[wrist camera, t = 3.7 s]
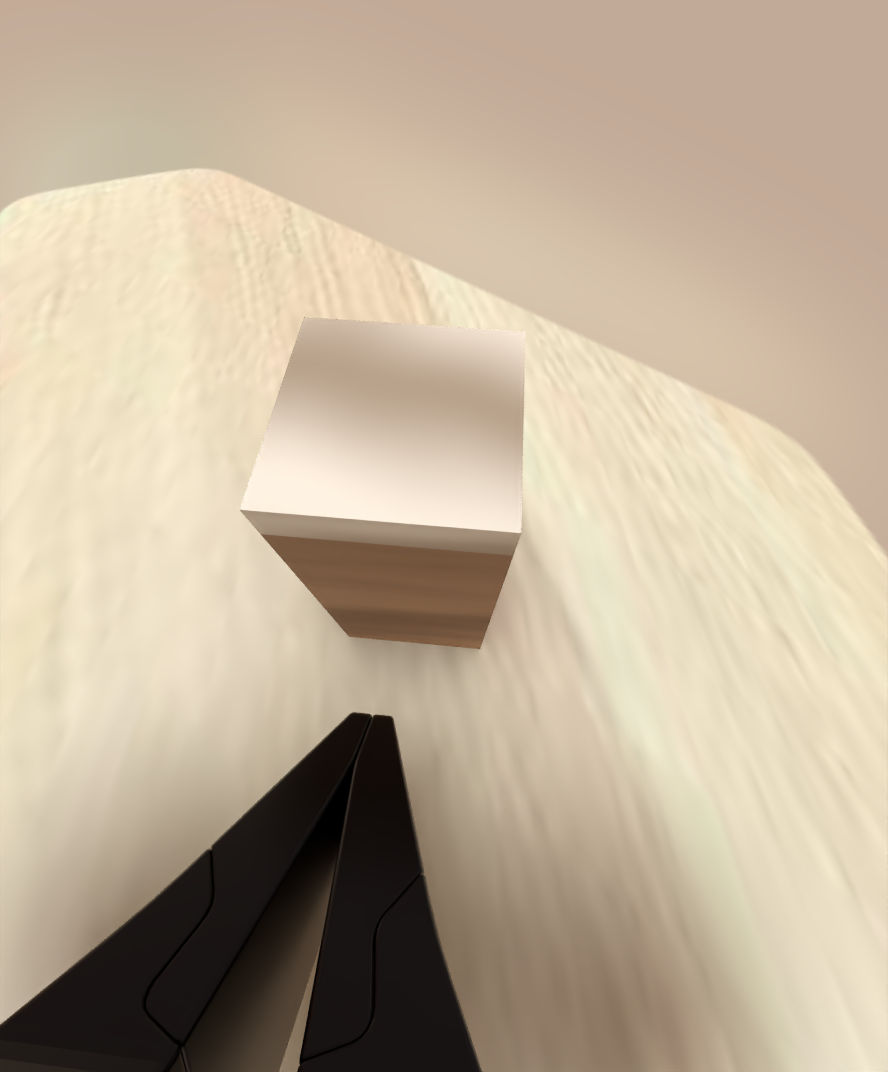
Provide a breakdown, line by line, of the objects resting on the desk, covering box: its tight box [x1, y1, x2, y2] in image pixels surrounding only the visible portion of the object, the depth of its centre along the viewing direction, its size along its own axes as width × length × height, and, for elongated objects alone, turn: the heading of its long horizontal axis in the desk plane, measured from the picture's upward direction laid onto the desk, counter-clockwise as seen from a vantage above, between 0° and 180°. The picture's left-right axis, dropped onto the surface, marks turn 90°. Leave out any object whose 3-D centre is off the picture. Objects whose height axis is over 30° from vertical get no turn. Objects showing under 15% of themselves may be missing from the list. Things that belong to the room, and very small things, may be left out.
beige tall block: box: [240, 317, 525, 649], centre depth 13 cm, size 5×5×10 cm
